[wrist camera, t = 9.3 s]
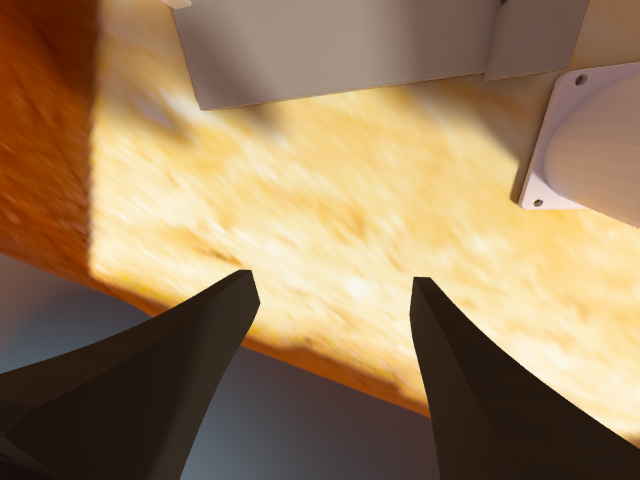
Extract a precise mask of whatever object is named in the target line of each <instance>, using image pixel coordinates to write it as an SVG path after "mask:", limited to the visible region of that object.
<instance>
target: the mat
mask: <svg viewBox="0 0 640 480" xmlns="http://www.w3.org/2000/svg"><path fill="white" fill-rule="evenodd" d="M191 3H192V5H191V6H187V7H183V8H179V9H174V8H172V7H171V10H172V13H173V17H174V20H175V24H176V27H177V31H178V34H179V37H180V41H181V44H182V48H183V51H184V55H185V58H186V61H187V65H188V68H189V72H190V75H191V79H192V82H193V86H194V89H195V92H196V96H197V99H198V103H199V106H200V110H203V111H212V110H219V109H226V108H233V107H241V106H248V105H255V104H262V103H270V102H277V101H284V100H291V99H299V98H306V97H313V96H321V95H328V94H335V93H342V92H350V91H357V90H364V89H371V88H379V87H386V86H393V85H400V84H408V83H415V82H422V81H429V80H437V79H444V78H451V77H459V76H466V75H473V74H480V73H485V67H486V62H487V57H488V51H489V46H490V41H491V35H492V30H493V25H494V19H495V14H496V11H497V10H498V9H499V8H500V7H501V6H502V4H501V0H191Z"/></svg>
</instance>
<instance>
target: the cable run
mask: <svg viewBox="0 0 640 480" xmlns="http://www.w3.org/2000/svg"><path fill="white" fill-rule="evenodd" d="M588 3H589V0H501V4H502V6H501V7H500V8H499V9H498V10H497V11H496V14H495V19H494V25H493V30H492V35H491V41H490V46H489V51H488V57H487V62H486V67H485V73H484V78H483V81H491V80H498V79H506V78H514V77H521V76H529V75H537V74H544V73H549V72H553V71H556V70H560V69H564V68H568V65H569V62H570V59H571V56H572V53H573V50H574V47H575V43H576V40H577V37H578V34H579V31H580V28H581V25H582V22H583V18H584V15H585V12H586V9H587V6H588Z"/></svg>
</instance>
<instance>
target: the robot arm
mask: <svg viewBox="0 0 640 480" xmlns="http://www.w3.org/2000/svg"><path fill="white" fill-rule="evenodd" d="M579 76H581V77H582V81H581V82H580V84H578V85H576V84H575V80H576V79H577V77H579ZM536 200H539V202H538V203H537V204H536V205H534V202H535V201H536ZM518 205H519V207H521V208H522V209H524V210H551V209H591V210H594V211H596V212H599V213H601V214H604V215H606V216H608V217H611V218H613V219H616V220H618V221H621V222H623V223H625V224H628V225H630V226H633V227H635V228H638V229H640V62H634V63H627V64H619V65H611V66H604V67H596V68H588V69H580V70H573V71H569V72H566V73H564V74H562V75H561V76H560V77H559V78H558V79H557V80H556V82H555V85H554V88H553V91H552V95H551V98H550V101H549V104H548V108H547V111H546V114H545V117H544V121H543V124H542V127H541V130H540V134H539V137H538V140H537V143H536V147H535V150H534V153H533V156H532V160H531V163H530V166H529V169H528V173H527V176H526V179H525V182H524V185H523V189H522V192H521V195H520V198H519V202H518ZM259 306H260V300H259V296H258V292H257V289H256V285H255V282H254V278H253V274H252V271H251V270H238V271H236V272H234V273H232V274H230V275H228V276H227V277H225V278H223V279H222V280H220V281H218V282H217V283H215V284H213V285H212V286H210V287H208V288H207V289H205V290H203V291H202V292H200V293H198V294H197V295H195V296H193V297H191V298H189V299H188V300H186V301H184V302H182V303H181V304H179V305H177V306H175V307H173V308H172V309H170V310H168V311H166V312H164V313H162V314H160V315H158V316H156V317H154V318H152V319H150V320H148V321H146V322H143V323H141V324H139V325H137V326H135V327H132V328H130V329H128V330H125V331H123V332H120V333H118V334H116V335H113V336H111V337H108V338H106V339H104V340H101V341H98V342H96V343H93V344H90V345H88V346H85V347H82V348H79V349H77V350H74V351H71V352H68V353H65V354H63V355H59V356H57V357H54V358H50V359H47V360H44V361H41V362H38V363H34V364H31V365H28V366H25V367H21V368H18V369H15V370H12V371H9V372H5V373H2V374H0V480H180V477H181V474H182V471H183V469H184V466H185V463H186V460H187V458H188V455H189V453H190V450H191V448H192V445H193V443H194V440H195V437H196V435H197V432H198V430H199V427H200V425H201V423H202V420H203V418H204V416H205V413H206V411H207V409H208V406H209V404H210V402H211V400H212V397H213V395H214V393H215V391H216V389H217V386H218V384H219V382H220V380H221V378H222V376H223V374H224V372H225V370H226V368H227V367H228V365H229V363H230V361H231V360H232V358H233V356H234V354H235V353H236V351H237V349H238V347H239V346H240V344H241V342H242V341H243V339H244V337H245V335H246V334H247V332H248V330H249V328H250V327H251V325H252V323H253V321H254V318H255V316H256V314H257V311H258V308H259ZM409 315H410V323H411V331H412V338H413V343H414V347H415V351H416V355H417V359H418V363H419V367H420V371H421V375H422V379H423V383H424V387H425V391H426V395H427V399H428V404H429V409H430V414H431V421H432V427H433V433H434V439H435V445H436V453H437V459H438V465H439V473H440V479H441V480H640V449H638V448H637V447H635V446H634V445H632V444H631V443H629V442H628V441H626V440H625V439H623V438H622V437H620V436H619V435H617V434H616V433H614V432H613V431H611V430H610V429H608V428H607V427H605V426H604V425H602V424H601V423H599V422H598V421H597V420H595V419H594V418H592V417H591V416H589V415H588V414H586V413H585V412H584V411H582V410H581V409H579V408H578V407H576V406H575V405H574V404H572V403H571V402H569V401H568V400H567V399H565V398H564V397H563V396H561V395H560V394H558V393H557V392H556V391H554V390H553V389H552V388H550V387H549V386H548V385H546V384H545V383H543V382H542V381H541V380H539V379H538V378H537V377H536V376H534V375H533V374H532V373H530V372H529V371H528V370H526V369H525V368H524V367H523V366H522V365H520V364H519V363H518V362H517V361H515V360H514V359H513V358H512V357H511V356H509V355H508V354H507V353H506V352H504V351H503V350H502V349H501V348H500V347H499V346H497V345H496V344H495V343H494V342H493V341H492V340H491V339H489V338H488V337H487V336H486V335H485V334H484V333H483V332H482V331H481V330H480V329H479V328H478V327H477V326H476V325H474V324H473V323H472V322H471V321H470V320H469V319H468V318H467V317H466V316H465V315H464V313H463V312H462V311H461V310H460V309H459V308H458V307H457V306H456V305H455V304H454V303H453V302H452V301H451V300H450V299H449V298H448V297H447V295H446V294H445V293H444V292H443V291H442V290H441V289H440V288H439V287H438V285H437V284H436V283H435V282H434V281H433V280H432V279H431V278H430V277H414V279H413V288H412V296H411V305H410V314H409Z"/></svg>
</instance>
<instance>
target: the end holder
mask: <svg viewBox="0 0 640 480" xmlns="http://www.w3.org/2000/svg"><path fill="white" fill-rule="evenodd" d="M160 1H161V2H163V3H165V4H167V5H169V6H170V7H172V8H174V9H179V8H183V7H187V6H191V5H192V3H191V0H160Z"/></svg>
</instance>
